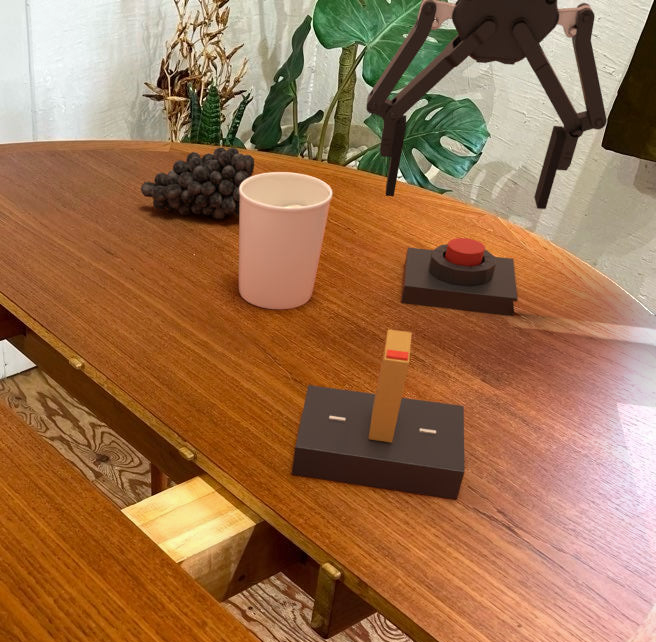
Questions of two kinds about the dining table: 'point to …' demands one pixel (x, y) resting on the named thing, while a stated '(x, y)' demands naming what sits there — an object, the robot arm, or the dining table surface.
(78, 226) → the dining table surface
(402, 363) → the tan upright plank
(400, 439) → the dark lever base block
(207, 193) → the fruit
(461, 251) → the bell button
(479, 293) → the bell block
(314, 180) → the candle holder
